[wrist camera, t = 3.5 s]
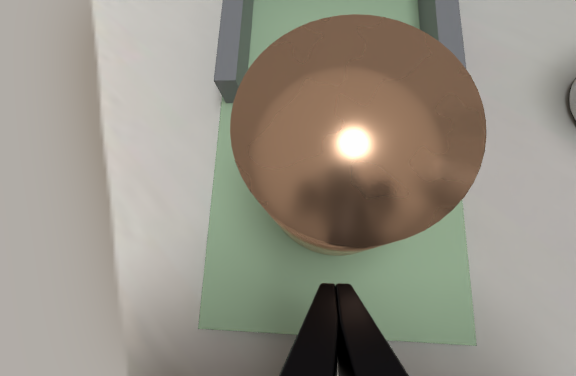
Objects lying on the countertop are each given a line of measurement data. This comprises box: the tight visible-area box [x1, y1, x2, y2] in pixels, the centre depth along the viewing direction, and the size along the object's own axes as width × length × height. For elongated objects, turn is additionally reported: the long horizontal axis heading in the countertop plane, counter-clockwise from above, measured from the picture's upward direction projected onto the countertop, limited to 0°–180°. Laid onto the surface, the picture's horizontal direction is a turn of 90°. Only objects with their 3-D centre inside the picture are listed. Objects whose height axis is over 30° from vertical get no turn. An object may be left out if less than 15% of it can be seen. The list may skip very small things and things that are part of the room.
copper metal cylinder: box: [230, 14, 486, 256], centre depth 13 cm, size 8×8×8 cm
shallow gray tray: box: [214, 0, 466, 103], centre depth 18 cm, size 9×13×2 cm
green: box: [198, 0, 477, 346], centre depth 18 cm, size 22×14×1 cm, turn 178°
